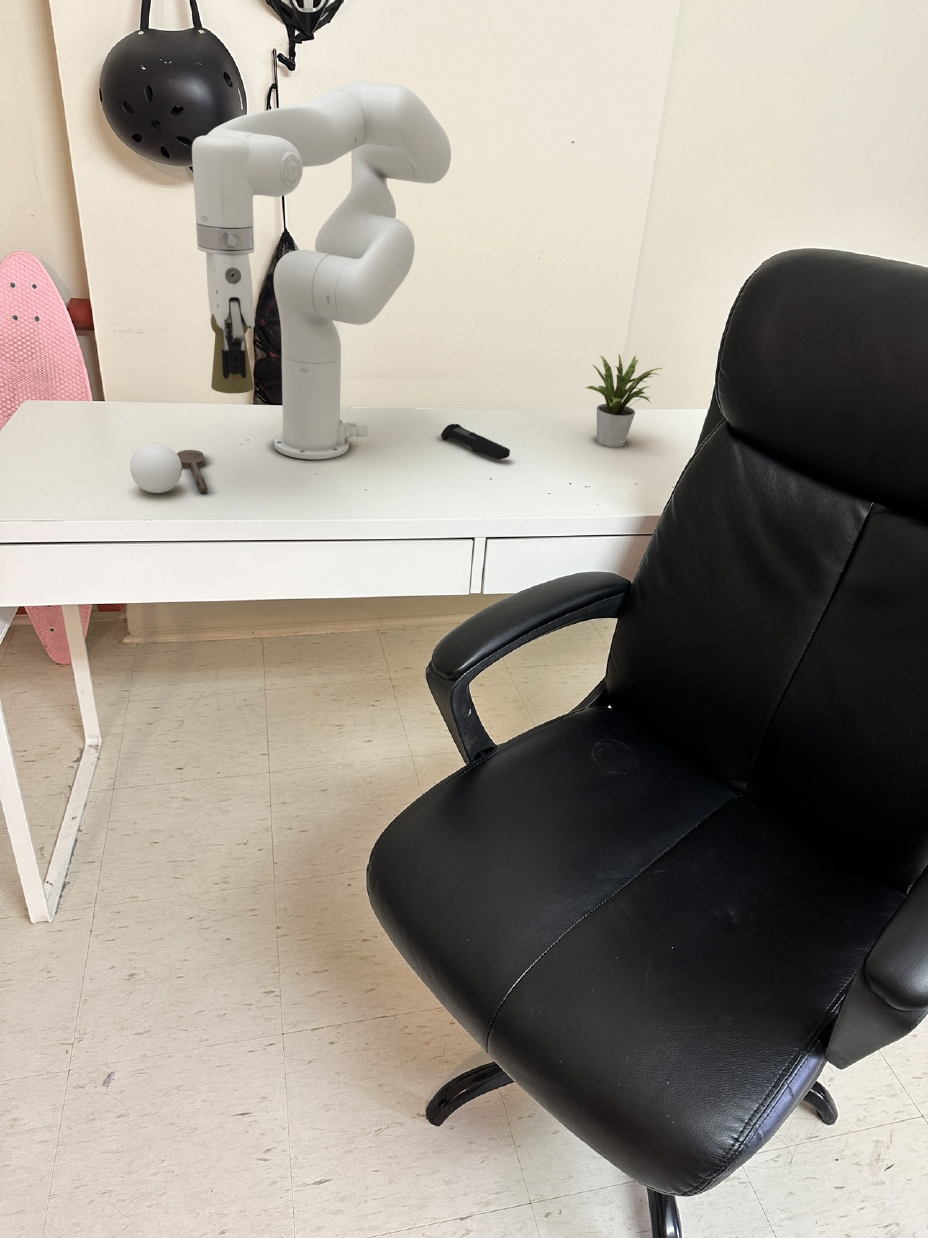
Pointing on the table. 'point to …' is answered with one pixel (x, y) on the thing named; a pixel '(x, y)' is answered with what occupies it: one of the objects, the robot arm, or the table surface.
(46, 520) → the table surface
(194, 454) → the wooden spoon
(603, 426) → the house plant
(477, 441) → the electric trimmer
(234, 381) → the cork
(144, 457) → the white ovoid
